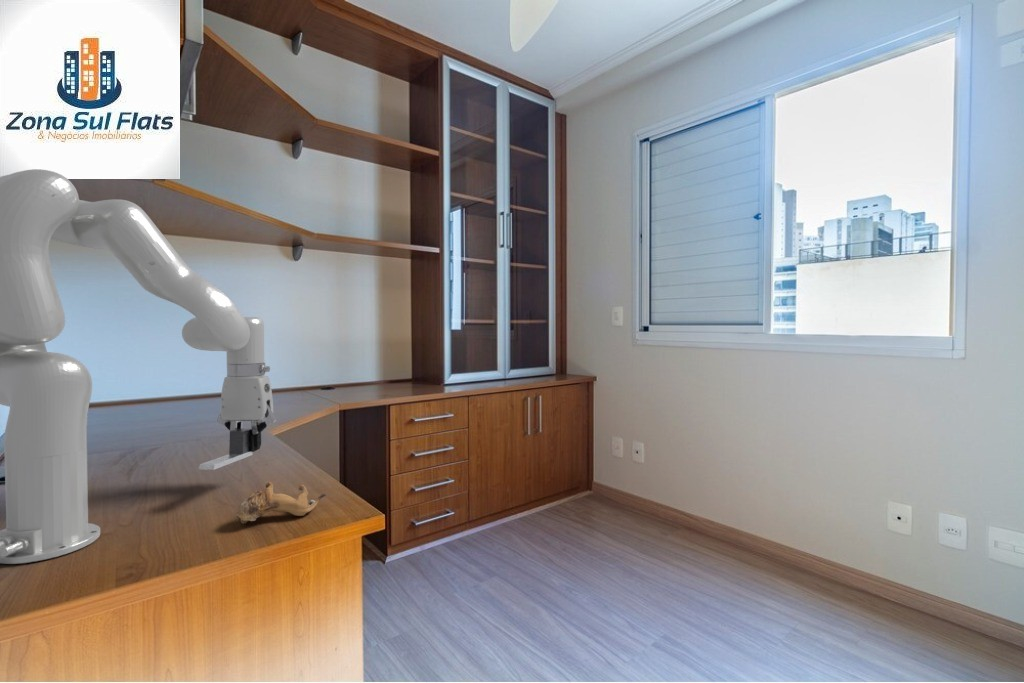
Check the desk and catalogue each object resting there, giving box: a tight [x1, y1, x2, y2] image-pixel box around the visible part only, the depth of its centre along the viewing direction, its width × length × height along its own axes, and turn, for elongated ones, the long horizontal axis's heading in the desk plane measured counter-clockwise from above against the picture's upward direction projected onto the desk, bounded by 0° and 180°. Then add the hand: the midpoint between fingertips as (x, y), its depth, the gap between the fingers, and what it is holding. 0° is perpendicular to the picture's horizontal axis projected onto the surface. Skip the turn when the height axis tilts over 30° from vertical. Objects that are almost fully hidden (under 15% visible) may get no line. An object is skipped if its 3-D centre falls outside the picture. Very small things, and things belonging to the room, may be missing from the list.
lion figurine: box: [235, 481, 327, 525], centre depth 90 cm, size 15×5×9 cm
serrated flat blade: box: [198, 427, 254, 471], centre depth 102 cm, size 14×3×6 cm, turn 0°
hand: (247, 449), depth 109 cm, fingers closed on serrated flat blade, 3 cm apart
